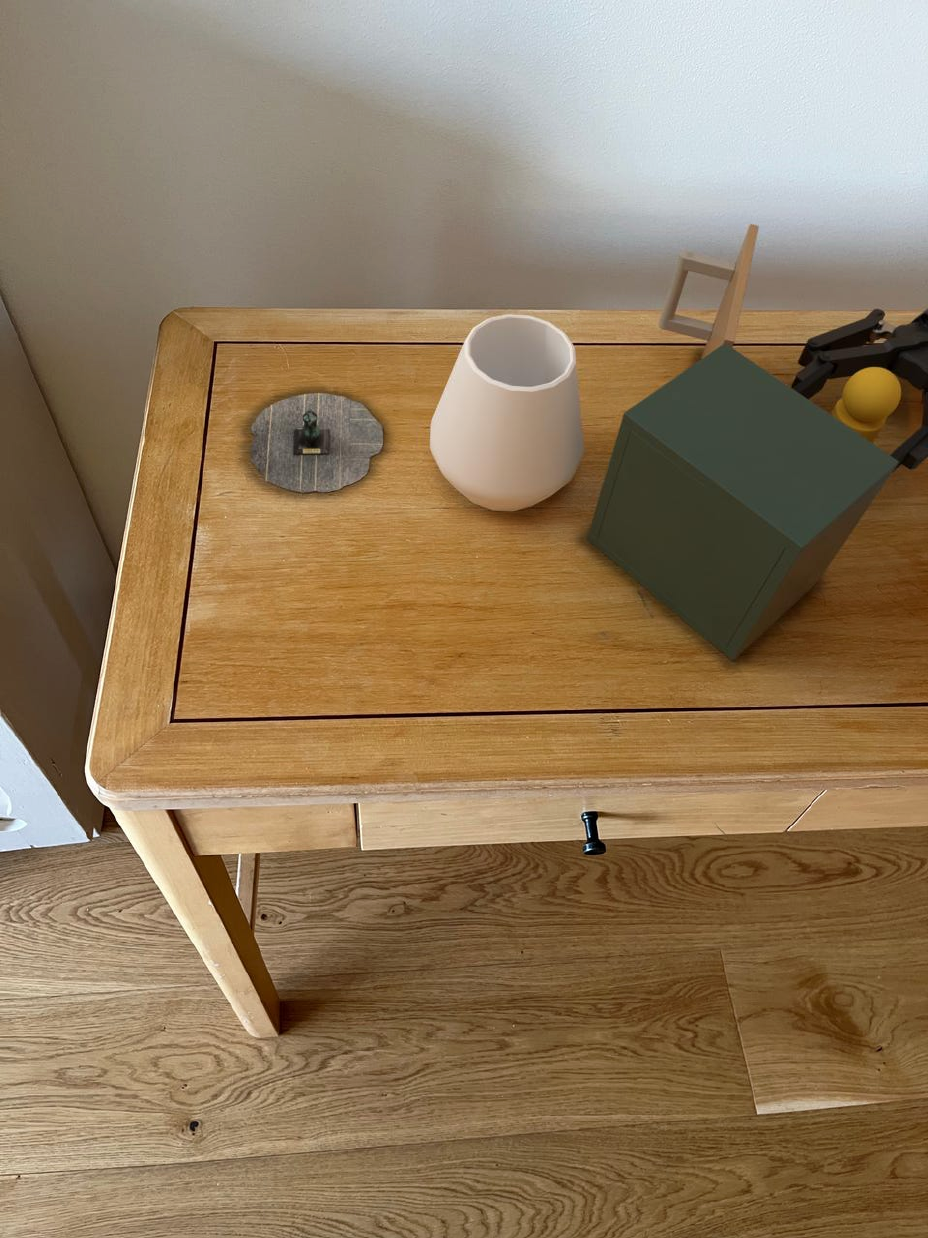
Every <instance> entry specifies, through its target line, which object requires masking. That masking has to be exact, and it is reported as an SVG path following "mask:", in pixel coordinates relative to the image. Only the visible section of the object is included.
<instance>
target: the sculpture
mask: <svg viewBox="0 0 928 1238" xmlns="http://www.w3.org/2000/svg"><path fill="white" fill-rule="evenodd" d="M250 433H251V434H252V435H253V436H254V438H253V439H252V442H251V443H250V451H249V453H250V457H251V459H250V462H251V463H252V464H253V466H254V468H256V470H257V471H258V472H259V474H260V475H261V476H262V478H263V479H264V481H265V482H266V483H270V484H273V485H274V486H275V487H280V488H283V489H284V490H289V491H292V492H295V493H304V494H305V493H310V492H318V493H330V492H332V491H340V489H342V488H344V487H345V486H349V485H352V484H354V483H356V482H358V481H360V480H361V479H363V478H364V477H365V476H367V474H368V472H369V469H370V461H371V459H370V458H371V457H372V456H376V455H377V454H379V453H381V451H382V449H383V447H384V432H383V426H382V425H381V424H380V422H379V421H378V420H377V419H376V418H375V417H374V416H373V414H372V413H371V411H369V410H368V408H366V406H365V405H364V404H363V403H362V402H359V401H356V400H352V399H350V398H348V397H346V396H342V395H337V394H331V393H326V392H311V393H304V394H298V395H296V396H291V397H286V398H285V399H281V400H278V401H276V402H275V403H272V404H270V406H268V407H266V408H264V409H262V410H261V412H260V413H259V415H258V416H257V417H256V419H255V421H254V422H253V423H251V426H250Z"/></svg>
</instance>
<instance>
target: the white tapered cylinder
mask: <svg viewBox="0 0 928 1238" xmlns="http://www.w3.org/2000/svg"><path fill="white" fill-rule="evenodd" d="M576 354H577V353H576V347H575V346H574V344H573V342H572V340H571V339H570V338H569V336H568V335H567V333H566V332H564V331H563V330H562V329H560V328H559V327H557V326H556V325H554V324H553V323H552V322H550V321H547V320H545V319H542V318H538V317H536V316H533V315H528V314H513V313H512V314H511V313H507V314H502V315H497V316H493V317H488V318H487V319H485V320H484V321H482V322H481V323H479V324H477V325H475V326H473V328H472V329H471V330H470V332H469V334H468V335H467V337H466V338H465V339H464V342H463V343H462V347H461V349H460V351H459V354H458V356H457V359H456V361H455V363H454V366H453V368H452V370H451V373H450V375H449V378H448V379H447V382H446V385H445V387H444V389H443V392H442V394H441V397H440V399H439V402H438V403H437V406H436V409H435V411H434V413H433V416H432V418H431V422H430V431H429V432H430V433H429V448H430V452H431V455H432V457H433V459H434V461H435V463H436V465H437V467H438V469H439V470H440V473H441V475H442V476H443V477H444V478H445V479H446V480H447V481H448V482H449V483H450V484H451V485H452V486H453V487H454V488H455V489H456V490H457V491H458V493H460V494H461V495H463V496H464V497H465V498H466V499H467V500H468V501H470V502H471V503H472V504H474V505H476V506H479V507H481V508H484V509H487V510H490V511H493V512H495V511H496V512H497V511H498V512H517V511H520V510H523V509H527V508H530V507H533V506H535V505H537V504H538V503H540V502H542V501H544V500H546V499H548V498H551V496H553V495H554V494H555V493H556V492H558V491H559V490H561V489H562V488H563V487H564V486H566V485H567V484H569V483H570V482H571V481H572V479H573V477H574V476H575V474H576V472H577V470H578V467H579V465H580V464H581V461H582V459H583V457H584V451H585V447H584V446H585V445H584V435H583V425H582V424H583V423H582V413H581V412H582V411H581V399H580V390H579V378H578V367H577V366H578V365H577V356H576Z"/></svg>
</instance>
